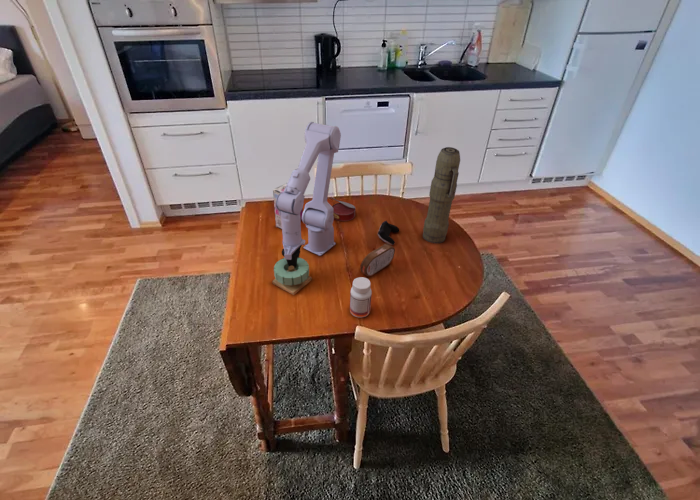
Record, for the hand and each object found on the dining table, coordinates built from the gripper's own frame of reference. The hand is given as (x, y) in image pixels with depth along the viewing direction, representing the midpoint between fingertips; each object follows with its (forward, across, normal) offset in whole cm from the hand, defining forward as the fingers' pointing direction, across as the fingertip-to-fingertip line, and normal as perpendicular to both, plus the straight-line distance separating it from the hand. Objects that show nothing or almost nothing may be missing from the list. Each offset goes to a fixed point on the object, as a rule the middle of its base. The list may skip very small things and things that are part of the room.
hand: (293, 263), depth 129 cm
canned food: (+5, +40, -12) cm, 42 cm away
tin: (+5, +6, -27) cm, 28 cm away
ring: (+1, -4, 0) cm, 4 cm away
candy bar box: (+5, +31, +8) cm, 32 cm away
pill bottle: (+5, -15, -23) cm, 27 cm away
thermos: (+5, +28, -48) cm, 56 cm away
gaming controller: (+5, +26, -31) cm, 40 cm away
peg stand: (+4, -4, 0) cm, 6 cm away
